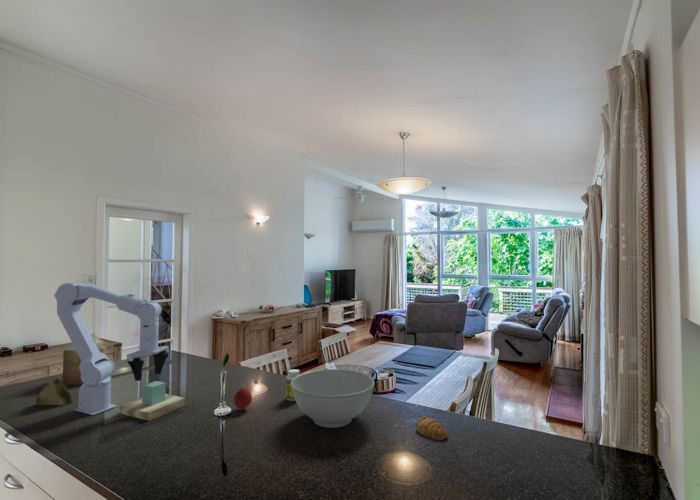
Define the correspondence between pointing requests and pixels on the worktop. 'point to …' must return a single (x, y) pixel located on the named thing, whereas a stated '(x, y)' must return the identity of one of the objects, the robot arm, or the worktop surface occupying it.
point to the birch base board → (152, 407)
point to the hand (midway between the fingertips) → (148, 377)
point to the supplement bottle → (289, 378)
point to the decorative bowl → (332, 395)
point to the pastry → (431, 428)
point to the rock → (54, 394)
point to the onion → (242, 398)
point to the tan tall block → (77, 362)
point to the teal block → (153, 392)
